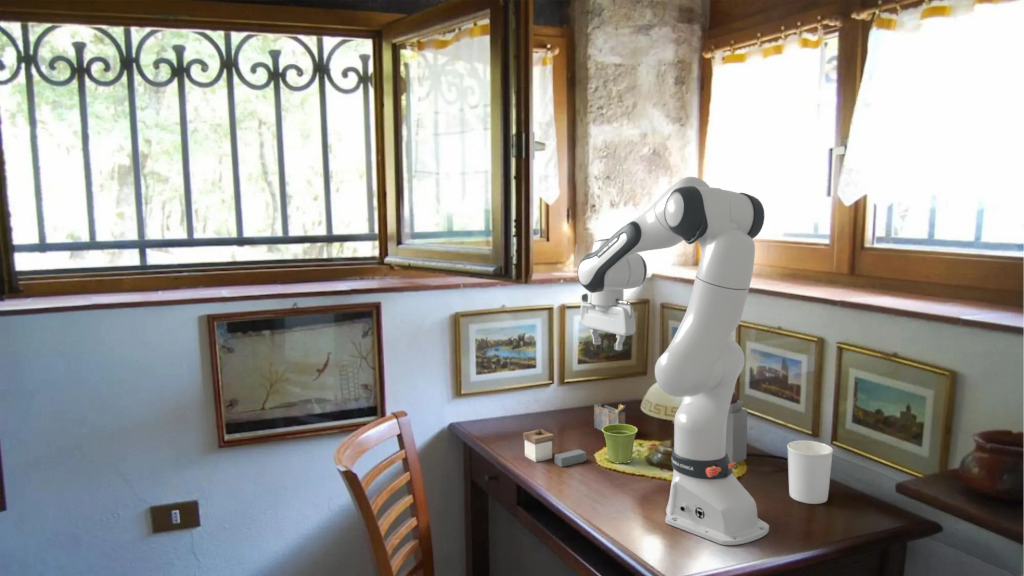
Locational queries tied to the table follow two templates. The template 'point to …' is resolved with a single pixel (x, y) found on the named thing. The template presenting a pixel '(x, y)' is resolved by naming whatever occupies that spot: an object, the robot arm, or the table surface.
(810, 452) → the candle holder
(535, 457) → the white open box
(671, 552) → the table surface
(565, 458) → the gray rectangular block
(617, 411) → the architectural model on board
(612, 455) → the plant pot
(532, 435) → the lid
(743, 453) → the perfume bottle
